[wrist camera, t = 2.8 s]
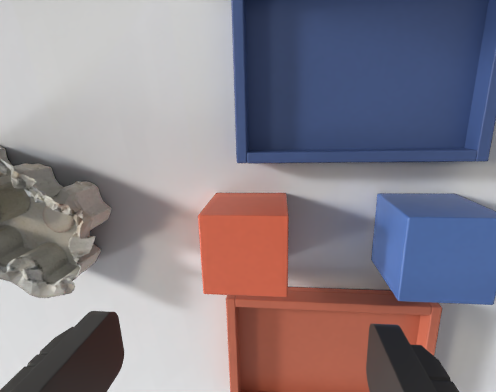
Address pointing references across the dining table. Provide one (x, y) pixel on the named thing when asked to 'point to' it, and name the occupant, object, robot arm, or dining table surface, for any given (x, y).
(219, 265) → the terracotta block
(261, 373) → the terracotta tray
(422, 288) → the blue block
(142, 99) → the dining table surface
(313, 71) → the blue tray
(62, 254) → the egg carton
